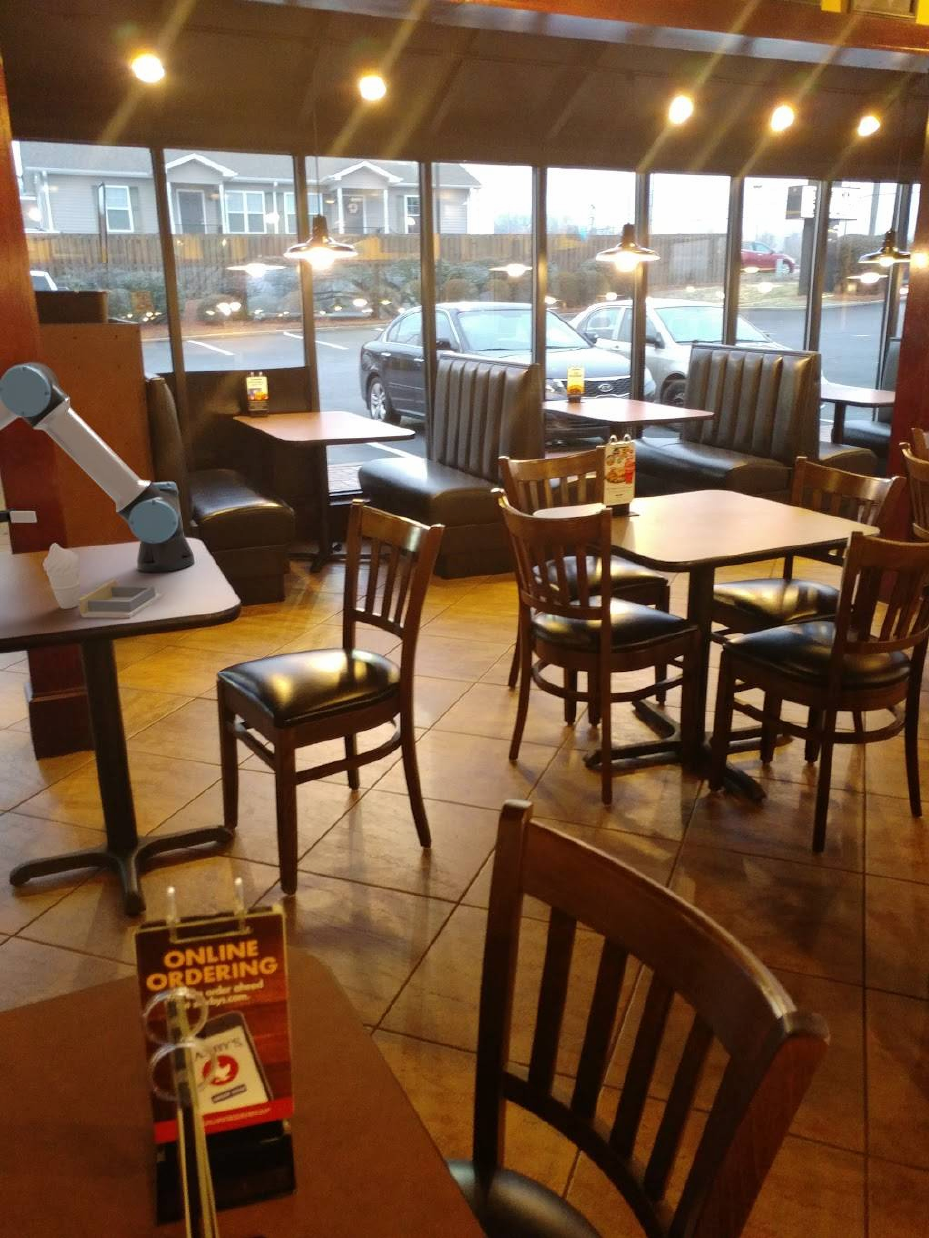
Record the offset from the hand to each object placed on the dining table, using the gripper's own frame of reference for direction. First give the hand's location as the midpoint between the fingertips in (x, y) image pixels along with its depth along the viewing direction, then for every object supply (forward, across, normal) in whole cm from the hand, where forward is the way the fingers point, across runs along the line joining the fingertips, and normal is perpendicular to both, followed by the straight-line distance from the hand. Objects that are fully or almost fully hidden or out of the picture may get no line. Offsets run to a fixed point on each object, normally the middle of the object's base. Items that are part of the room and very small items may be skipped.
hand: (18, 523), depth 244 cm
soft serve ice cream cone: (+10, 0, -21) cm, 23 cm away
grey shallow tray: (+24, 0, -21) cm, 31 cm away
